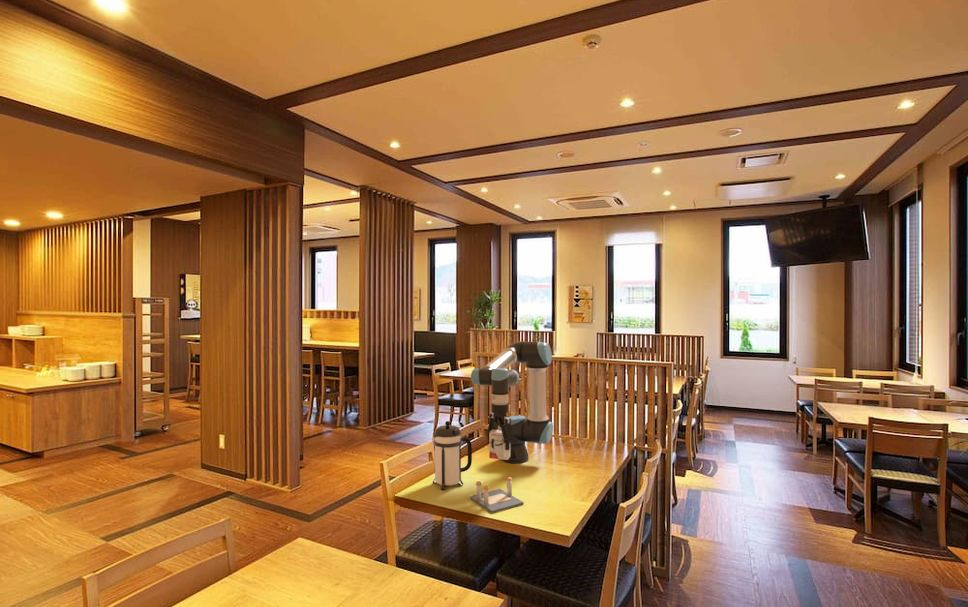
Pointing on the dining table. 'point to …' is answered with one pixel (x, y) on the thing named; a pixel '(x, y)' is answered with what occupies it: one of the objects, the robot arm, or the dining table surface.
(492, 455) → the ink box
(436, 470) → the coffee press
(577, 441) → the dining table surface
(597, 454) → the dining table surface
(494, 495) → the header pad
